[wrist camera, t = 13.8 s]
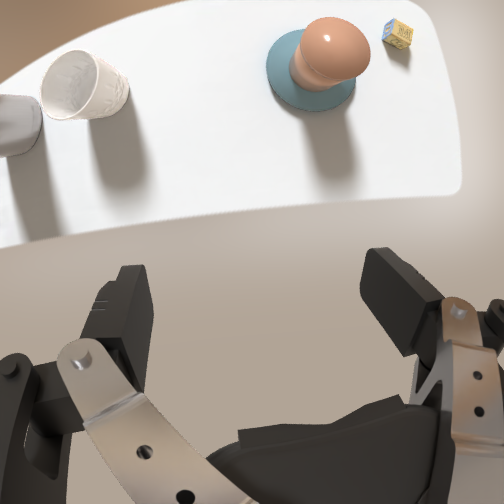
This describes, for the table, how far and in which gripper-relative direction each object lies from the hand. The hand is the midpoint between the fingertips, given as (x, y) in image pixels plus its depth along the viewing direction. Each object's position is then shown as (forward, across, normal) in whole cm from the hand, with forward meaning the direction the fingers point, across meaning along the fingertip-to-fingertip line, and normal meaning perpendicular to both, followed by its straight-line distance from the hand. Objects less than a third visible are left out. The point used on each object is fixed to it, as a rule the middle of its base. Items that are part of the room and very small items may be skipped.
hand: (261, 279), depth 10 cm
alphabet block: (+27, -23, -18) cm, 40 cm away
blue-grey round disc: (+28, -11, -11) cm, 32 cm away
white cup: (+31, +14, -9) cm, 36 cm away
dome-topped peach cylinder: (+26, -11, -11) cm, 31 cm away
